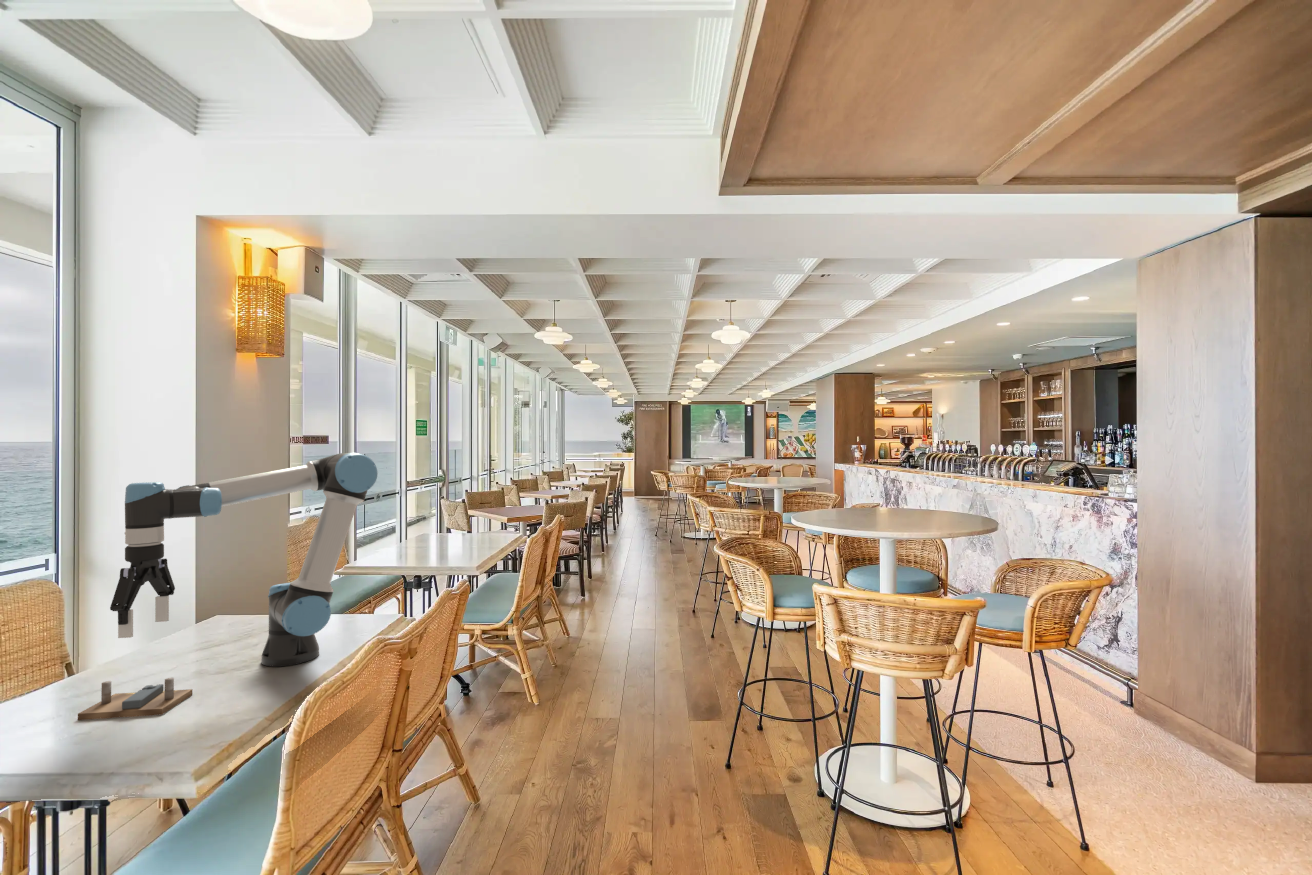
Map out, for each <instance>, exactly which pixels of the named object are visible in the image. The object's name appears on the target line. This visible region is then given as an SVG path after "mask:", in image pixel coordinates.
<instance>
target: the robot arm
mask: <svg viewBox="0 0 1312 875" xmlns="http://www.w3.org/2000/svg"><path fill="white" fill-rule="evenodd" d="M378 473H379V472H378V467H377V466H376V463H375V462H374V460H373V459H371V458H370V457H369V456H368V455H365V454H362V453H357V452H347V453H346V452H343V453H342V452H341V453H336V454H333V455H330V456H326V457H323V458H319V459H313V460H308V461H307V462H306V464H304V465H300V466H293V467H288V468H282V469H276V470H270V471H267V472H260V473H254V474H253V473H252V474H249V475H244V476H238V477H233V478H227V479H221V480H220V479H219V480H216V481H214V480H213V481H209V482H205V483H204V482H203V483H199V484H193V485H190V484H188V485H182V486H180V487H179V486H178V488H176V489H169V488H166V487H165V484H164V483H163V482H160V481H158V482H157V481H156V482H155V481H154V482H152V481H151V482H134V483H133V482H132V483H129V484H128V485H126V487H125V495H124V529H125V531H124V535H125V537H124V540H125V541H124V543H125V545H127V546H125V547H124V560H125V562H126V563H130V566H129V567H126V568H125V567H124V568H120V569H119V570H120V571H119V579H118V583H117V585H116V589H115V592H114V595H113V597H112V600H111V604H110V607H109V609H110V611H112V612H117V634H118V635H117V638H118V639H126V638H127V639H128V638H132V637H134V608H133V609H131V608H132V606H133V604H134V602H135V600H136V597H137V596H138V593H139V591H140V589H141V587H142V586H144V585H145V583H147V582H148V583H149V584H150V585H151V587H152V589H153V590H154V591H155V593H156V594H157V596H155V605H154V606H155V610H154V611H155V613H154V614H155V620H154V622H155V623H162V622H165V623H166V622H168V621H170V612H169V611H170V610H169V607H170V604H169V602H170V601H169V600H170V596H173V595H174V594H175V590H176V587H175V586H176V585H175V583H174V581H173V578H172V575H171V572H170V569H169V567H168V559H167V558H164V557H165V544H164V543H162V542H164V541H165V521H164V520H166V519H168V520H169V519H170V520H171V519H179V518H195V517H196V518H197V517H198V518H199V517H204V518H205V517H211V516H217V515H219V514H220V513H221V512H222V507H227V506H232V505H236V504H237V505H238V504H242V503H247V502H252V501H257V500H263V499H266V498H271V497H276V496H282V495H286V494H292V493H297V492H302V491H307V490H310V491H311V490H312V491H313V492H317V491H318V492H319V491H322V492H323V494H324V495H325V497H326V498H325V501H324V504H323V507H322V509H321V510H322V511H321V512H320V516H319V519H318V521H317V523H316V527H315V529H314V533H313V535H312V539H311V542H310V544H309V547H308V550H307V552H306V555H305V558H304V561H303V564H302V567H301V570H300V572H299V575H298V577H297V578H296V579H295V580H292V581H291V582H284V583H278V584H274V585H271V586H270V587H269V591H268V595H267V598H268V636H267V640H266V641H265V645H264V648H263V650H262V653H261V661H260V662H261V665H263V666H266V667H285V666H294V665H299V664H303V663H306V662H309V661H311V660H314V659H315V658H317V657H318V656H319V655H320V646H319V643H318V641H317V638H316V635H315V634H317V633H319V632H320V631H321V630H323V629H324V628H325V626H327V624H328V623H329V621H330V619H331V616H332V607H331V604H330V603H331V601H332V600H331V599H332V598H333V593H334V589H333V587H332V585H331V582H332V580H333V576H334V573H335V571H336V568H337V566H338V562H339V559H340V555H341V553H342V550H343V547H344V544H345V542H346V539H347V536H348V532H349V529H350V528H351V527H350V526H351V523H352V520H353V518H354V515H355V512H356V509H357V506H358V505H361V504H362V503H364V502H365V499H366V496H367V494H368V490H370V489H371V488H372V487H373V486H374V485H375V483H376V482H377V479H378Z"/></svg>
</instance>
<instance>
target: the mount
mask: <svg viewBox="0 0 1312 875" xmlns="http://www.w3.org/2000/svg"><path fill="white" fill-rule="evenodd" d="M100 691H101V696H100V698H101V700H100V701H99V702H97V703H95V704H93V705H91V706H90V707H88V708H86V709H84V710H82V711H80V712H79V713H77V721H87V720H100V719H101V720H104V719H117V718H133V717H134V718H135V717H149V716H151V717H152V716H162V715H164V714H166V713H168V712H169V711H170V710H172V709H173V708H175V707H176V706H179V704H181V703H183V702H185V701H186V700H188V699H189V698H190V697H192V696H193V689H192V688H190V689H175V678H174V677H167V678H165V679H164V690H163V692H162V693H160V694H159V695H158V696H156V697H155V698H153V699H152V700H151V701H149V702H148V703H146V704H145V705H144V706H142V707H141V708H135V709H124V710H123V709H122V702H123V701H124V700H126V699H127V698H129V697H130V696H132V695H133V694H135V693H136V692H122V693H113V694H112V681H111V680H108V681H103V682H101V690H100Z"/></svg>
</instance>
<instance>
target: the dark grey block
mask: <svg viewBox="0 0 1312 875" xmlns="http://www.w3.org/2000/svg"><path fill="white" fill-rule="evenodd" d="M164 689H165V686H164V684H156V685H152V684H150V685H145V686H144V687H143V688H141V689H139V690H138V691H137V692H136V693H135V692H134V693H135V694H133V695H132V696H130V697H129V698H127V699H126V700H124V701H123V702H122V709H123V710H124V709H135V708H141V707H142V706H144V705H145V704H146V703H148V702H149V701H151V700H152V699H153V698H155V697H156V696H158V695H159V694H160V693H162V692H163V691H164Z"/></svg>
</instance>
